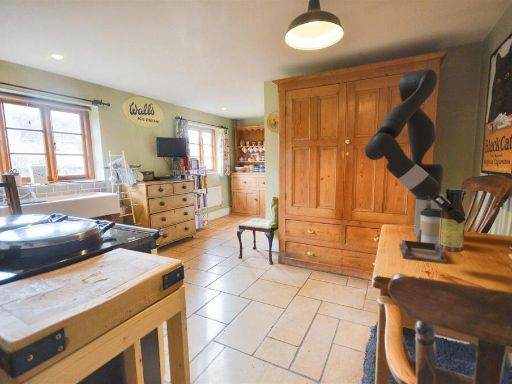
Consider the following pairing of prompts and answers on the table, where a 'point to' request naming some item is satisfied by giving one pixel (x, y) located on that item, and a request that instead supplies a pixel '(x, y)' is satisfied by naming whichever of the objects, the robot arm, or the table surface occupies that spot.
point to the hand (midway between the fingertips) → (459, 218)
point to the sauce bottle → (452, 224)
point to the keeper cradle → (422, 250)
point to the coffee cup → (430, 225)
